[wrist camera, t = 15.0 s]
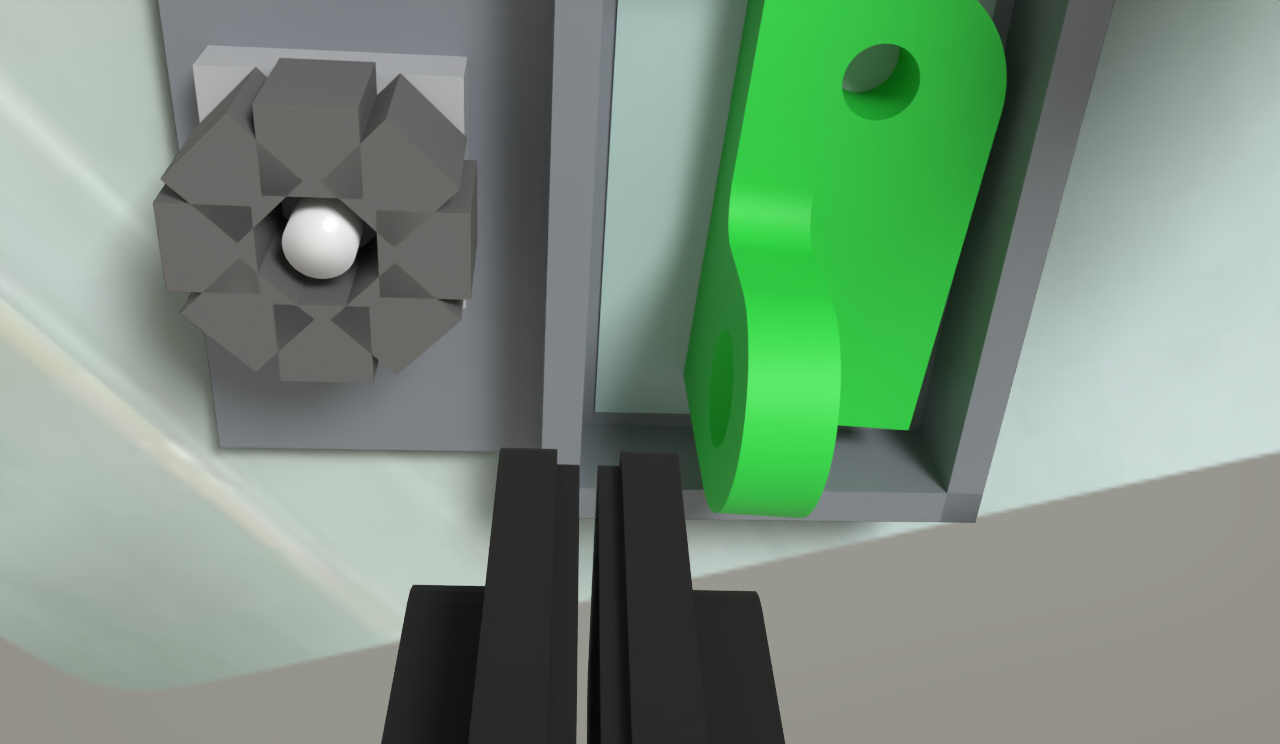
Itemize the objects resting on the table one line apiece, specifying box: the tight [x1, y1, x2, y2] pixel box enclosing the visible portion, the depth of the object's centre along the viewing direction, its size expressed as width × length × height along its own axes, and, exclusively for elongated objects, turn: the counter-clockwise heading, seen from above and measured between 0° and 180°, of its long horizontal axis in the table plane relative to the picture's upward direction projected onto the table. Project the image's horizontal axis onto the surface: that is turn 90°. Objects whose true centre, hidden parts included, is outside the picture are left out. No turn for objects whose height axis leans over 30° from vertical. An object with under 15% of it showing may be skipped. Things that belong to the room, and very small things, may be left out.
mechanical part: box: [683, 0, 1007, 518], centre depth 28 cm, size 12×6×8 cm, turn 173°
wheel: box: [153, 58, 477, 383], centre depth 28 cm, size 7×7×3 cm
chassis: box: [158, 0, 1114, 523], centre depth 30 cm, size 21×17×5 cm
